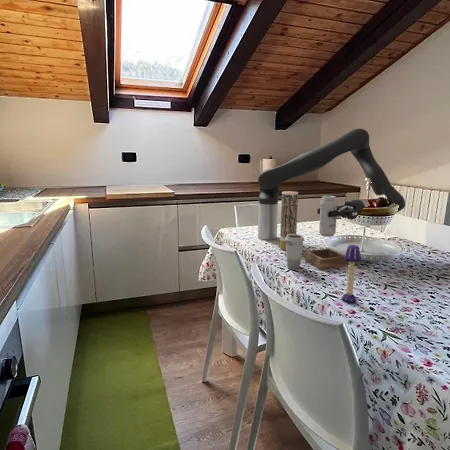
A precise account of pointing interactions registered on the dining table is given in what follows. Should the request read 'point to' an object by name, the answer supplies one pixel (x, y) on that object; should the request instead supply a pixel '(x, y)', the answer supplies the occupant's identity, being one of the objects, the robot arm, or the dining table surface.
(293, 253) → the cup
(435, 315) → the dining table surface
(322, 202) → the energy drink can
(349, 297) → the toy lamp
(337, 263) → the wooden tray
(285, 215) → the bark patterned cylinder
